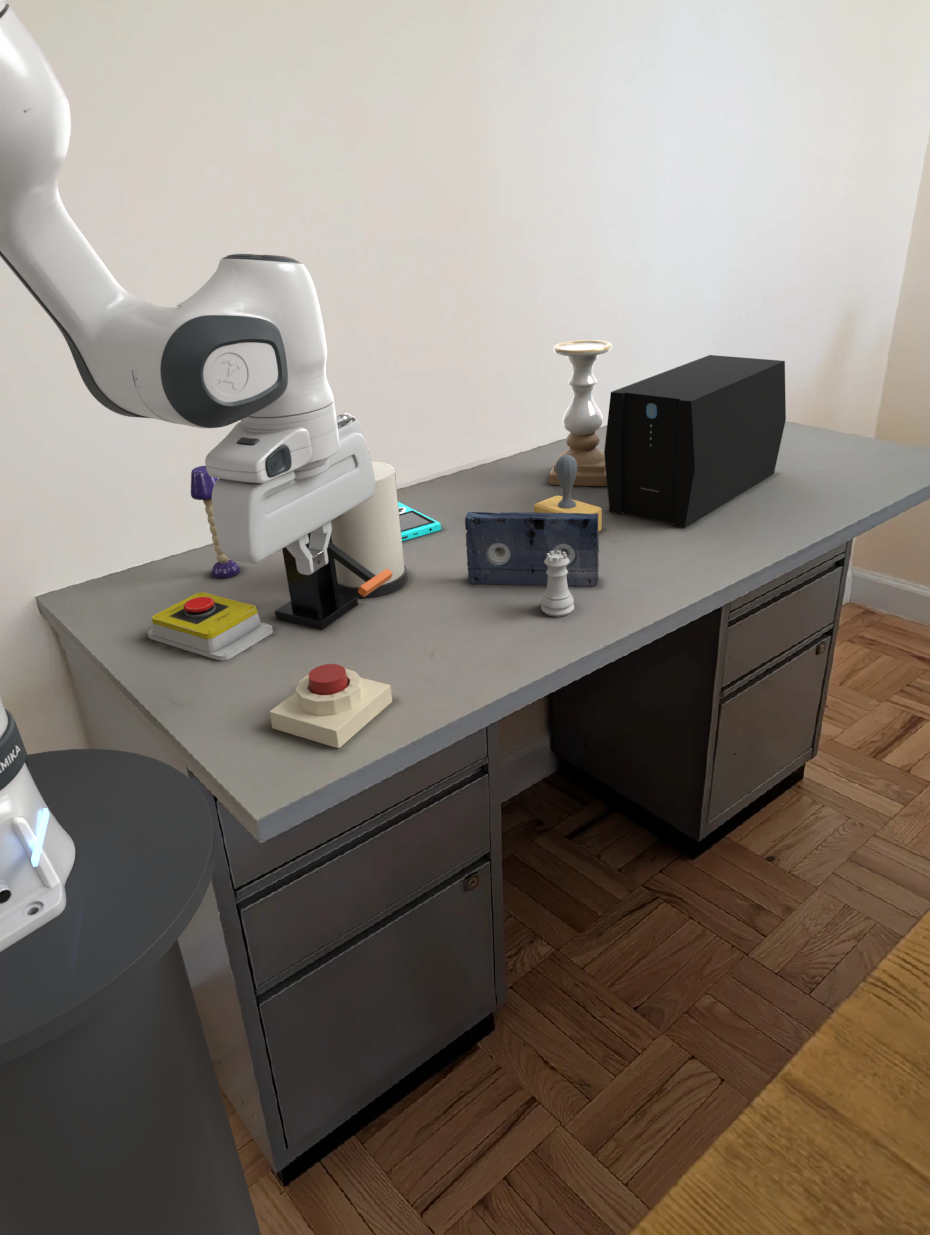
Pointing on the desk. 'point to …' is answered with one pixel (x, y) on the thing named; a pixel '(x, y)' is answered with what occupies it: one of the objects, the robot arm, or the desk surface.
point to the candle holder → (583, 413)
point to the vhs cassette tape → (530, 547)
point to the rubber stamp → (567, 493)
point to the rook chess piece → (557, 586)
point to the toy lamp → (211, 520)
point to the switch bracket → (313, 595)
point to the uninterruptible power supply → (694, 437)
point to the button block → (331, 710)
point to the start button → (328, 679)
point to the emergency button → (209, 626)
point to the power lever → (359, 570)
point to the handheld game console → (415, 523)
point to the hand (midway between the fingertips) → (313, 569)
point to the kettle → (372, 537)
